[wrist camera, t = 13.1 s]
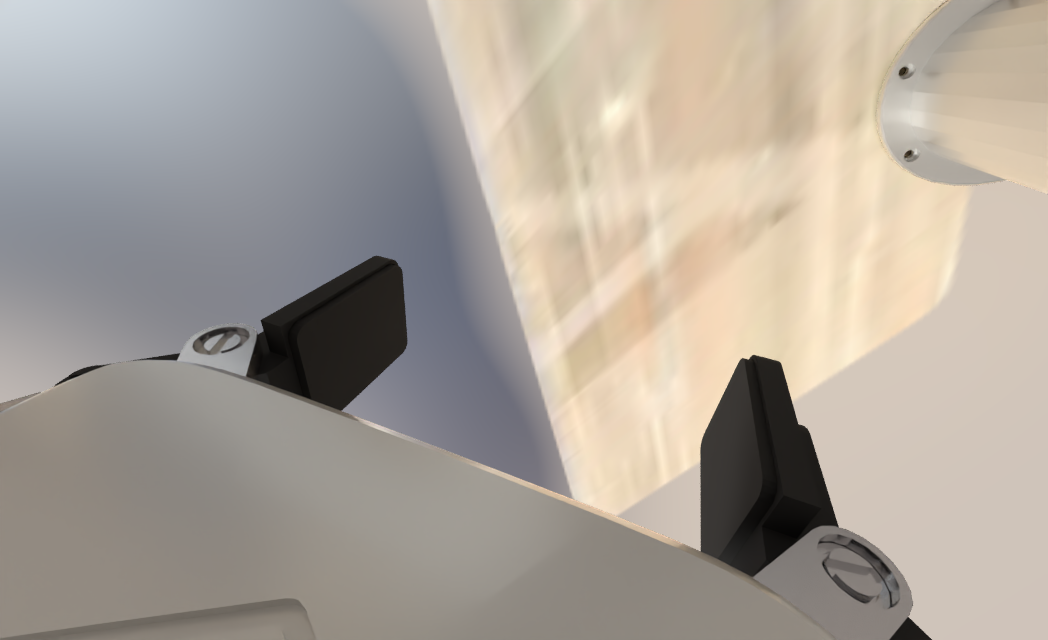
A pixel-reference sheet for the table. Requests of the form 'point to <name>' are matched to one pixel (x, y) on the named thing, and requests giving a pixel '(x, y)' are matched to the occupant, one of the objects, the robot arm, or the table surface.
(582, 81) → the table surface
